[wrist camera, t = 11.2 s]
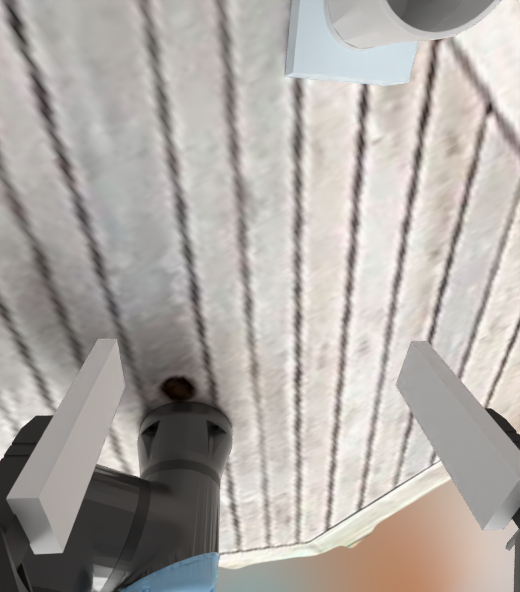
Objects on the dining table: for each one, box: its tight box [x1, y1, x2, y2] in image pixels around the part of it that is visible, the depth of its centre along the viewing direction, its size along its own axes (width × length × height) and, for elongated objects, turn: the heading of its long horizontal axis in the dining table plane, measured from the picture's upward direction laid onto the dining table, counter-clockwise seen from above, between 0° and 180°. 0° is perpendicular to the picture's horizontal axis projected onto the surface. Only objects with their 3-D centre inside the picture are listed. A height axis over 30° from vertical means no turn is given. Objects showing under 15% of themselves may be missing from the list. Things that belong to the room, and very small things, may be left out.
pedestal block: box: [285, 0, 418, 86], centre depth 28 cm, size 10×10×5 cm
